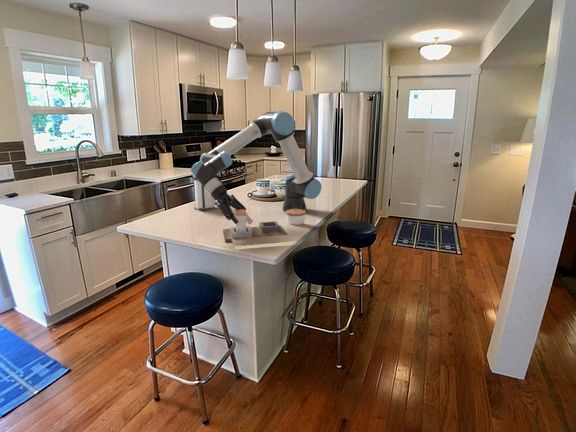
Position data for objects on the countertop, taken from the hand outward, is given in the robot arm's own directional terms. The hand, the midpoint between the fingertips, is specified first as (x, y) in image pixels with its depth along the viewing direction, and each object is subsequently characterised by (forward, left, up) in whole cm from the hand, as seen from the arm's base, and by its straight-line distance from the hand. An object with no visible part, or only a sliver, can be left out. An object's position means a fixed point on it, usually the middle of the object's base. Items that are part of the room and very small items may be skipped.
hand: (247, 225), depth 159 cm
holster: (-12, -8, -5) cm, 15 cm away
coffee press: (+18, -65, -7) cm, 68 cm away
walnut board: (-4, -5, -7) cm, 9 cm away
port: (+3, -2, -5) cm, 6 cm away
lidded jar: (-28, -16, -7) cm, 33 cm away
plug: (+3, -2, -5) cm, 6 cm away
